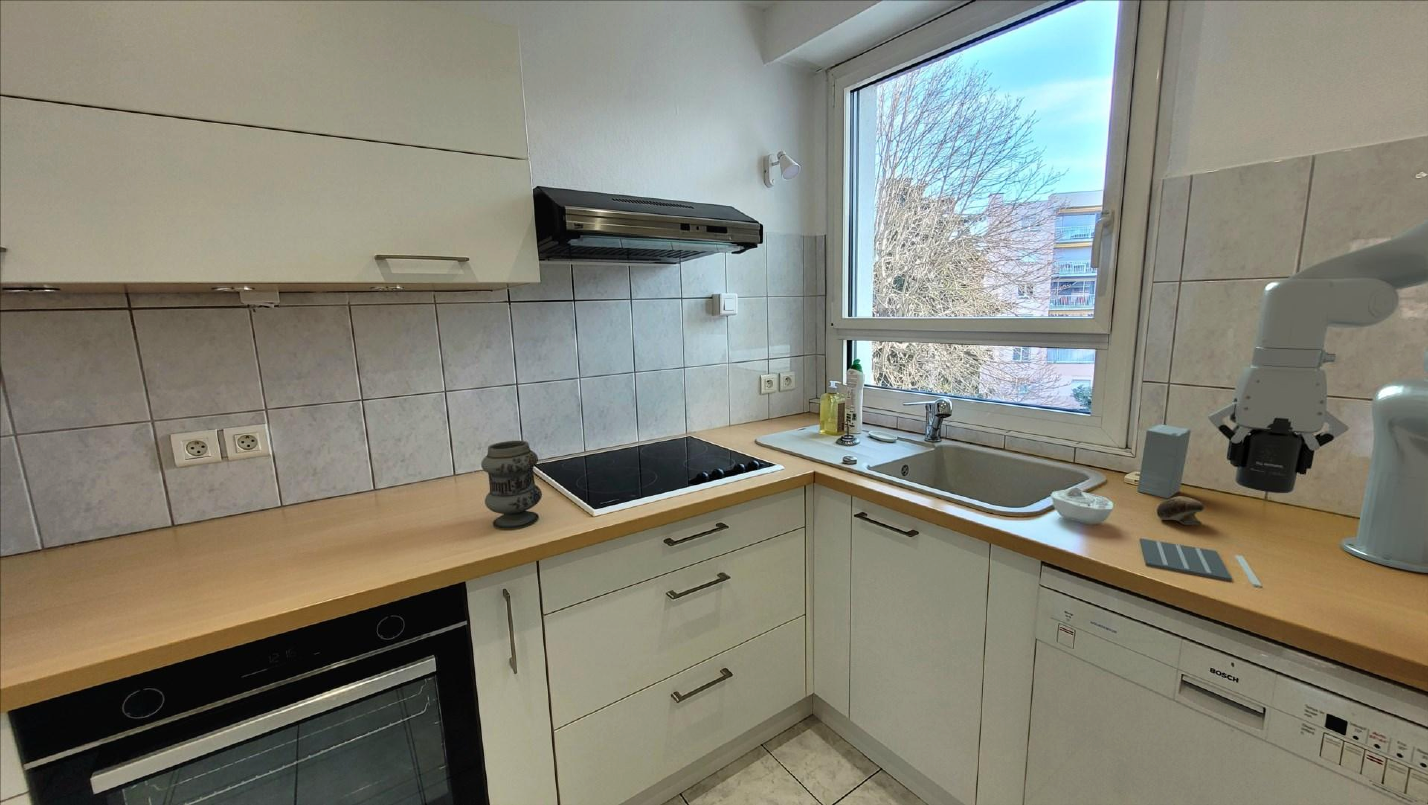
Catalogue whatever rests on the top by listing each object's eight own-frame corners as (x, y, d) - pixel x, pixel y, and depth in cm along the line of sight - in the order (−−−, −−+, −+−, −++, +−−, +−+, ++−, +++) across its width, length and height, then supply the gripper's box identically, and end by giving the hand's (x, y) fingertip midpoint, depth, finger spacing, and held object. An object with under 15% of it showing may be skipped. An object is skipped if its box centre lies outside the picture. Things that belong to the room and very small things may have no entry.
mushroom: (1221, 518, 106) (1201, 488, 108) (1176, 530, 108) (1158, 501, 110) (1204, 523, 113) (1186, 495, 115) (1162, 535, 115) (1145, 507, 117)
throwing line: (1242, 557, 96) (1242, 556, 96) (1261, 587, 86) (1261, 585, 86) (1234, 556, 97) (1235, 555, 97) (1252, 585, 87) (1252, 583, 87)
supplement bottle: (1257, 493, 85) (1270, 418, 83) (1223, 480, 92) (1234, 411, 90) (1307, 495, 84) (1321, 420, 82) (1269, 482, 91) (1281, 412, 89)
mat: (1216, 553, 98) (1216, 550, 98) (1231, 581, 88) (1231, 578, 88) (1139, 540, 104) (1139, 537, 104) (1145, 565, 94) (1146, 562, 94)
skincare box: (1148, 485, 135) (1155, 423, 132) (1184, 492, 129) (1192, 428, 127) (1135, 492, 130) (1142, 428, 128) (1172, 500, 125) (1180, 433, 122)
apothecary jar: (512, 509, 129) (506, 436, 126) (554, 514, 125) (548, 439, 122) (475, 528, 118) (466, 449, 115) (519, 535, 114) (512, 452, 111)
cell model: (1084, 534, 107) (1087, 502, 106) (1037, 513, 119) (1039, 483, 118) (1126, 529, 109) (1130, 497, 108) (1076, 508, 121) (1079, 479, 120)
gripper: (1355, 360, 84) (1332, 471, 86) (1206, 355, 92) (1191, 456, 95) (1380, 364, 77) (1355, 483, 80) (1218, 358, 86) (1201, 466, 89)
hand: (1266, 467), depth 88 cm, fingers closed on supplement bottle, 6 cm apart
